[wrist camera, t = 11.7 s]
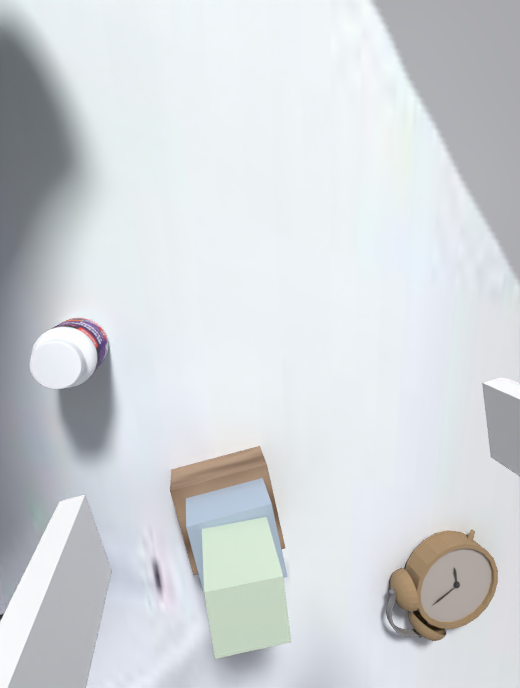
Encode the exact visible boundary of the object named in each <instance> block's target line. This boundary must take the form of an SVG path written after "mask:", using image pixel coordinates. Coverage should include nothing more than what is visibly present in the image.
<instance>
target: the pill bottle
mask: <svg viewBox="0 0 520 688" xmlns="http://www.w3.org/2000/svg"><path fill="white" fill-rule="evenodd" d="M108 346H109V343H108V338H107V335H106V333H105V331H104V329H103V328H102V327H101V326H100V325H99V324H98V323H96V322H95V321H93V320H90V319H87V318H79V317H78V318H72V319H69V320H66V321H64V322H62V323H61V324H59V325H57V326H55V327H54V328H52V329H50V330H48V331H46V332H45V333H43V334H42V335H41V336H40V337H39V338H38V339H37V340H36V342H35V343H34V345H33V348H32V352H31V358H30V371H31V373H32V375H33V377H34V378H35V380H36V381H37V382H38V383H40V384H41V385H43V386H44V387H47V388H50V389H63V388H70V387H75V386H78V385H80V384H82V383H83V382H85V381H86V380H87V379H88V378H89V377H90V376H91V375H92V374H93V373H94V371H95V370H96V369H97V368H98V366H99V365H100V364H101V363H102V361H103V360H104V358H105V356H106V354H107V352H108Z"/></svg>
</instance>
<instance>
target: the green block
mask: <svg viewBox="0 0 520 688" xmlns="http://www.w3.org/2000/svg"><path fill="white" fill-rule="evenodd" d="M202 549H203V577H204V595H205V601H206V607H207V613H208V619H209V625H210V631H211V637H212V644H213V650H214V656H215V659H217V658H222V657H226V656H231V655H235V654H240V653H244V652H249V651H253V650H258V649H262V648H267V647H271V646H276V645H280V644H285V643H289V642H291V637H290V628H289V620H288V612H287V603H286V595H285V587H284V578H283V574H282V570H281V566H280V563H279V559H278V556H277V552H276V549H275V545H274V541H273V538H272V534H271V531H270V527H269V524H268V520H267V517H262V518H257V519H252V520H246V521H241V522H236V523H231V524H225V525H220V526H215V527H209V528H204V529H202Z"/></svg>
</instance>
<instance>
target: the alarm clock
mask: <svg viewBox="0 0 520 688" xmlns="http://www.w3.org/2000/svg"><path fill="white" fill-rule="evenodd" d="M474 533H475V531H473V530H471V531H470V533H469V535H468V536H467V535H465V534H463V533H461V532H456V531H443V532H439V533H435V534H434V535H432V536H430V537H429V538H427V539H425V540H424V541H423V542H422V543H421V544H420V545H419V546H418V547H417V548H416V549H415V550H414V551H413V553H412V554H411V556H410V558H409V559H408V561H407V563H406V567H405V570H404V569H402V568H400V569H398V570H396V571H395V572H394V573H393V574H392V576H391V580H390V587H391V589H390V590H389V594H391V596H390V598H389V601H388V603H387V607H386V615H387V619H388V621H389V623H390V624H391V626H392V627H393V629H394V630H395V631H396V632H397V633H399V634H400V635H403V636H418V637H420V638H421V637H425V638H427V639H429V640H432V641H437V640H440V639H442V638H443V637H444V636H445V635H446V631H445V629H454V628H457V627H460V626H464V625H466V624H468V623H469V622H471V621H473V620H474V619H476V618H477V617H478V616H479V615H480V614H481V613H482V612H483V611H484V610H485V609H486V608H487V606H488V605H489V603H490V601H491V600H492V598H493V596H494V593H495V590H496V586H497V583H498V574H497V573H498V571H497V567H496V564H495V561H494V559H493V557H492V556H491V555H490V554H489V553H488V552H487V550H485V549H484V548H482V547H481V546H480V545H479V544H478V543H476V542H475V541H474V540H473V537H474ZM395 601H396V603H397V604H398V605H399V606H400V607H401V608H402V609H404V610H406V611H409V613H408V616H409V620H410V623H411V625H412V626H413V628H414V629H401V628H398V627H397V626H395V625H394V624H393V621H392V610H393V607H394V604H395ZM416 610H418V611H419V612H420V614H417V613H415V612H414V611H416Z"/></svg>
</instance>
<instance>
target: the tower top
mask: <svg viewBox="0 0 520 688" xmlns="http://www.w3.org/2000/svg"><path fill="white" fill-rule="evenodd" d="M262 517H267V520H268V524H269V527H270V531H271V534H272V538H273V541H274V545H275V549H276V552H277V556H278V559H279V563H280V566H281V570H282V574H283V578H284V577H287V573H286V568H285V563H284V559H283V554H282V549H281V545H280V540H279V536H278V531H277V526H276V522H275V517H274V512H273V508H272V503H271V500H270V498H269V495H268V492H267V489H266V486H265V483H264V481H263V478H260V479H257V480H253V481H249V482H245V483H242V484H238V485H234V486H230V487H227V488H223V489H219V490H215V491H212V492H208V493H204V494H201V495H197V496H193V497H189V498H186V528H187V532H188V536H189V540H190V544H191V547H192V551H193V555H194V559H195V562H196V566H197V570H198V574H199V577H200V581H201V585H202V589H203V592H204V577H203V549H202V529H204V528H209V527H215V526H220V525H225V524H231V523H236V522H241V521H246V520H252V519H257V518H262ZM204 596H205V595H204Z"/></svg>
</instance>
